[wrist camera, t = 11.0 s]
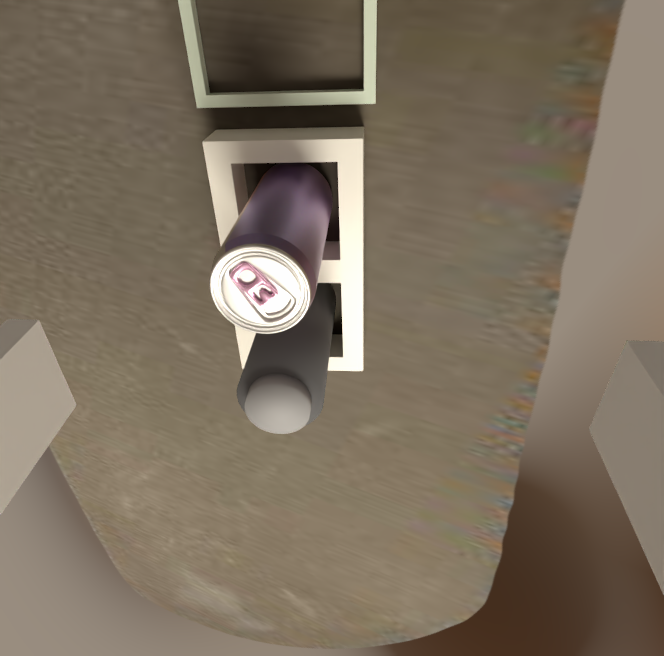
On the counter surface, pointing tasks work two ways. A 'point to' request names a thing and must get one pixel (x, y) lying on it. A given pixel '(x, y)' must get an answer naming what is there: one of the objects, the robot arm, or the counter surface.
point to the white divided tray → (339, 256)
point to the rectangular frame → (276, 97)
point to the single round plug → (290, 370)
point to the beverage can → (274, 251)
